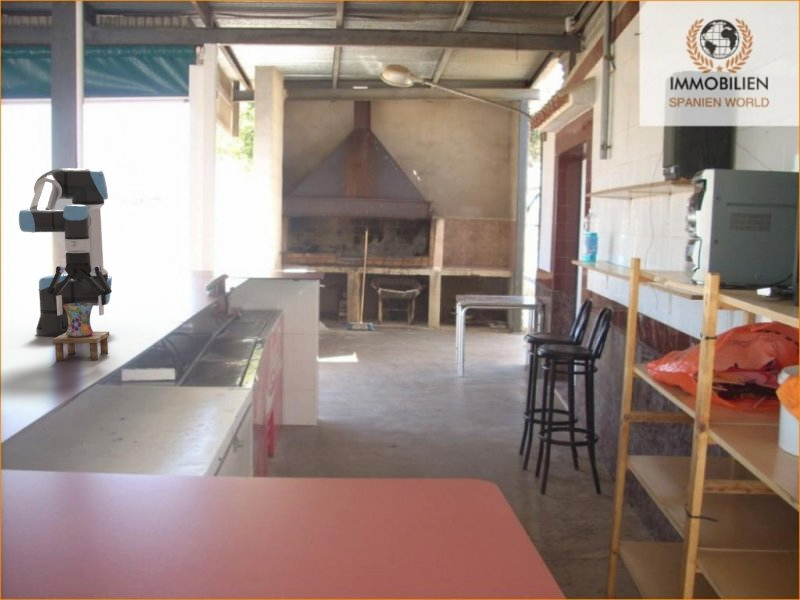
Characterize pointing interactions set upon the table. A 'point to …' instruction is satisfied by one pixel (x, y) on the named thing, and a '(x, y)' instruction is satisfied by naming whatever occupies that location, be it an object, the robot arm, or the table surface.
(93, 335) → the stool
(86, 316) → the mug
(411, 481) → the table surface
